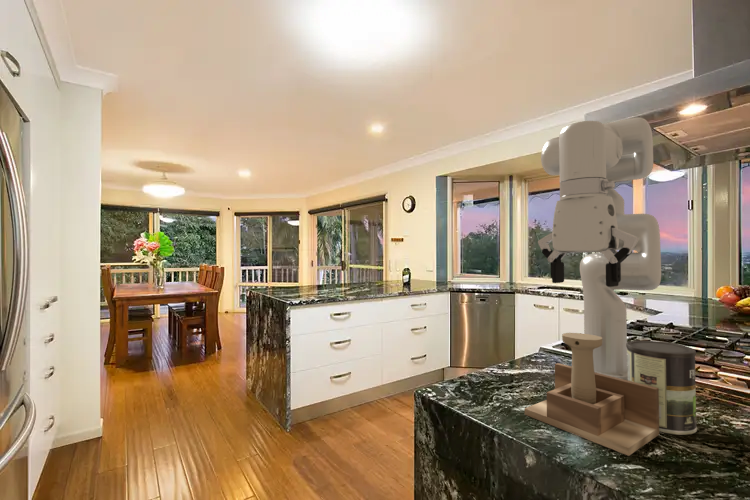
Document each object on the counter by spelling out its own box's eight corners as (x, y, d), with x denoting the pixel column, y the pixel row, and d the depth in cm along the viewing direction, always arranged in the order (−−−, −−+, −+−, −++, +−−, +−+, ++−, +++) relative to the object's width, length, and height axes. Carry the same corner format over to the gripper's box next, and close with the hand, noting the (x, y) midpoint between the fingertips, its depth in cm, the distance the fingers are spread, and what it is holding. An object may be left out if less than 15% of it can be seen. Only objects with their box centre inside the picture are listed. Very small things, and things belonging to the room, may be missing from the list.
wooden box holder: (558, 400, 79) (557, 363, 79) (659, 434, 64) (658, 388, 64) (524, 414, 72) (524, 373, 72) (628, 455, 57) (628, 404, 57)
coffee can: (690, 417, 70) (689, 343, 71) (703, 441, 62) (701, 356, 62) (625, 406, 76) (624, 337, 76) (628, 426, 67) (627, 348, 67)
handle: (599, 428, 64) (596, 341, 64) (560, 416, 68) (558, 336, 68) (608, 419, 67) (605, 336, 67) (570, 408, 72) (568, 331, 72)
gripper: (645, 186, 63) (647, 286, 63) (549, 198, 77) (550, 280, 77) (626, 182, 59) (627, 289, 59) (528, 196, 73) (529, 282, 73)
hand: (583, 284), depth 68 cm, fingers open, 9 cm apart
